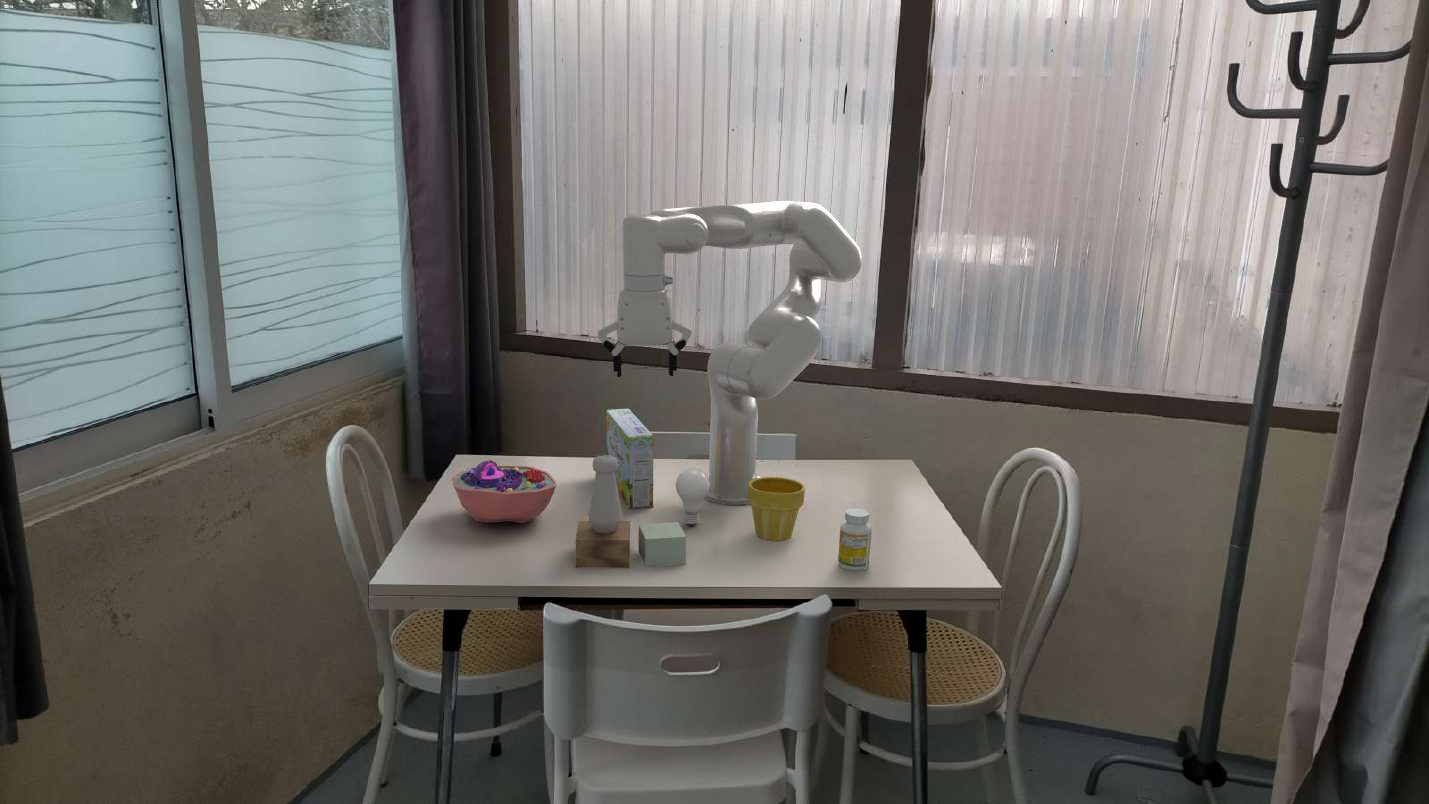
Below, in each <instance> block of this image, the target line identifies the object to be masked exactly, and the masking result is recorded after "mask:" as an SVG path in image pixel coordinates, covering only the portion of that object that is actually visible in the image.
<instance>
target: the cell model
mask: <svg viewBox="0 0 1429 804" xmlns="http://www.w3.org/2000/svg"><path fill="white" fill-rule="evenodd" d="M451 482H452V486H453V488H454V490H455V492H456V494H457V497H458V500H459V502H460V506H461V507H463V508H464V510H465V511H466V512H467V513H468V514H469V515H470V517H472V518H473V519H474V520H476V521H478V522H481V523H500V522H501V523H502V522H512V523H515V524H525V523H527V522H529V521H532V520H533V519H535V518H536V517H538V516H539V515H541V514H542V513H543V512H544V511H545V510H546V509H547V508H548V506H549V504H550V502H551V500H552V498H553V496H554V492H555V490H556V487H557V486H558V485H557V484H558V483H557V481H556V479H555V478H554V477H553V476H552V475H551V474H550V473H549V472H548V471H546V470H543V469H540V468H537V467H534V466H530V465H529V466H528V465H498V464H497V462H495V461H494V460H491V459H489V460H484V461H481V462H480V463H478V464H477V465H476V467H470V468H466V469H463V470H462V471H460V472H457V474H454V475H453V476H452V477H451Z"/></svg>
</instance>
